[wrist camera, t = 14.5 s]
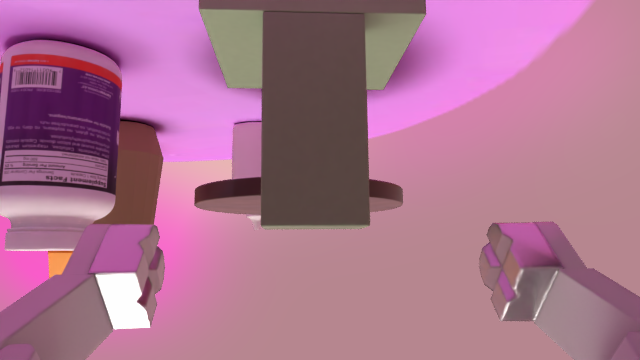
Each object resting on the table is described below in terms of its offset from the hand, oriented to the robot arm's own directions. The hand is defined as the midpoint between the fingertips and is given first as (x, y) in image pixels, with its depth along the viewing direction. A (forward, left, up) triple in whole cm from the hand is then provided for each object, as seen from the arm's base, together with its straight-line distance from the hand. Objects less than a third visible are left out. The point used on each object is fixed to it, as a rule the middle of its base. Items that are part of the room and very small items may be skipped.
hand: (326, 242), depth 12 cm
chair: (+6, -5, -15) cm, 17 cm away
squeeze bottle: (+21, -43, -15) cm, 50 cm away
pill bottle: (+7, -29, -15) cm, 33 cm away
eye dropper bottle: (+30, -31, -15) cm, 45 cm away
